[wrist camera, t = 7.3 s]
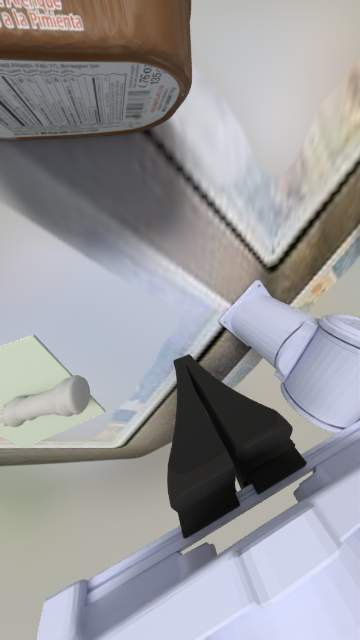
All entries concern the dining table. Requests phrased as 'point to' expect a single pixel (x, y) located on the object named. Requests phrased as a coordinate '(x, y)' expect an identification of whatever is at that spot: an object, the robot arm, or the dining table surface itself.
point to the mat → (35, 389)
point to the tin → (91, 66)
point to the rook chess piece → (48, 402)
